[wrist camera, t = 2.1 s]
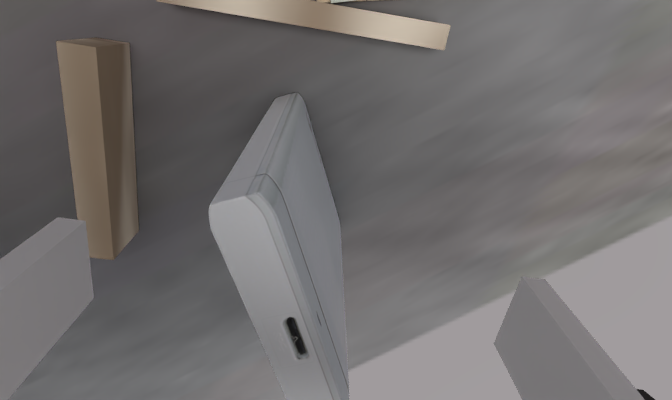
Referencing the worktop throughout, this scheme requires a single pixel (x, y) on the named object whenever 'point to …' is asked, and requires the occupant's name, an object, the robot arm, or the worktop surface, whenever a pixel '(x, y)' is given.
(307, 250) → the hard drive
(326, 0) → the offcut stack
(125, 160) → the birch rack
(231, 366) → the worktop surface
